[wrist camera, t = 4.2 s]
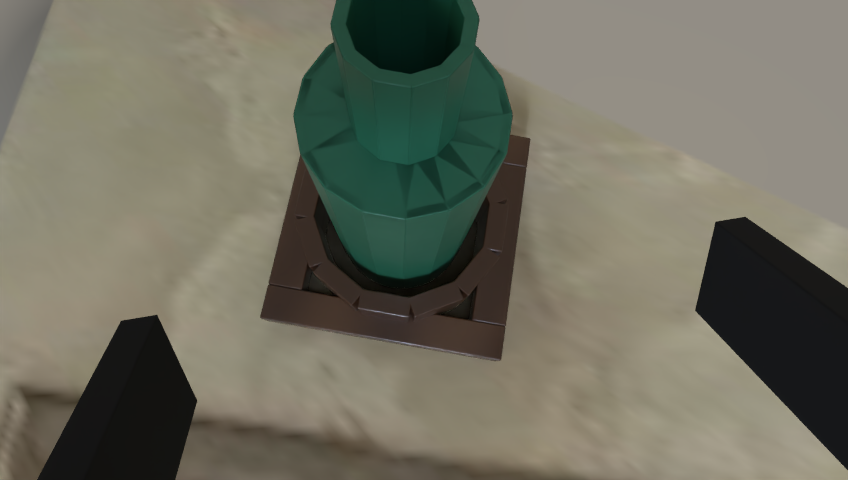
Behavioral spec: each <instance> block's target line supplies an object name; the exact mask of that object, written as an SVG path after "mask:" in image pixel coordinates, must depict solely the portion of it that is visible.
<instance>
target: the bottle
mask: <svg viewBox="0 0 848 480" xmlns="http://www.w3.org/2000/svg"><path fill="white" fill-rule="evenodd" d="M478 25H479V15H478V13H477V11H476V8H475V6H474V4H473V2H472V0H336V4H335V8H334V12H333V16H332V20H331V31H332V36H333V41H334V42H333V43H332V44H330V45H328V46H327V47H326V48H325V50H324V51H323V52H322V53H321V55H320V56H319V57H318V59H317V60H316V61H315V62H314V64H313V65H312V66H311V67H310V69H309V70H308V71H307V73H306V74H305V75H304V77H303V79H302V83H301V87H300V91H299V95H298V98H297V102H296V106H295V110H294V116H293V117H294V122H295V128H296V133H297V139H298V144H299V150H300V154H301V156H302V159H303V161H304V163H305V165H306V167H307V169H308V172H309V174H310V176H311V178H312V180H313V182H314V184H315V187H316V189H317V191H318V193H319V195H320V197H321V200H322V202H323V204H324V206H325V208H326V210H327V213H328V215H329V217H330V219H331V221H332V223H333V225H334V228H335V230H336V232H337V234H338V236H339V238H340V241H341V243H342V245H343V247H344V249H345V251H346V253H347V254H348V256H349V257H350V259H351V261H352V262H353V264H354V265H355V266H356V268H357V269H358V270H359V271H360V272H361V273H362V274H363V275H365V276H366V277H367V278H369V279H370V280H372V281H374V282H376V283H378V284H381V285H383V286H387V287H391V288H413V287H417V286H421V285H424V284H426V283H428V282H430V281H432V280H434V279H435V278H437V277H438V276H439V275H441V274H442V273H443V272H444V271H445V270H447V268H448V267H449V265H450V264H451V262H452V261H453V259H454V257H455V256H456V254H457V253H458V251H459V249H460V247H461V245H462V243H463V241H464V239H465V237H466V235H467V233H468V231H469V229H470V227H471V225H472V223H473V221H474V219H475V217H476V215H477V213H478V211H479V209H480V207H481V205H482V203H483V201H484V199H485V197H486V195H487V193H488V191H489V189H490V187H491V185H492V183H493V181H494V179H495V177H496V175H497V173H498V171H499V169H500V167H501V165H502V163H503V161H504V159H505V157H506V155H507V152H508V145H509V138H510V131H511V124H512V117H513V115H512V110H511V107H510V103H509V100H508V96H507V93H506V89H505V86H504V82H503V79H502V77H501V75H500V74H499V73H498V72H497V70H496V69H495V68H494V67H493V65H492V64H491V63H490V62H489V60H488V59H487V58H486V57H485V55H484V54H483V53H482V52H481V50H480V49H479V48H478V47H477V46H476V45H475V42H476V37H477V30H478Z"/></svg>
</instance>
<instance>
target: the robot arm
mask: <svg viewBox="0 0 848 480" xmlns="http://www.w3.org/2000/svg"><path fill="white" fill-rule="evenodd" d="M695 311H696V312H697V313H698V314H699V315H700V316H701V317H702V318H703V319H704V320H705V321H706V322H707V323H708V324H709V326H710V327H711V328H712V329H713V330H714V331H715V332H716V333H717V334H718V335H719V336H720V337H721V338H722V339H723V340H724V341H725V342H726V343H727V344H728V345H729V346H730V347H731V349H732V350H733V351H734V352H735V353H736V354H737V355H738V356H739V357H740V358H741V359H742V360H743V361H744V362H745V363H746V364H747V365H748V366H749V367H750V368H751V369H752V370H753V372H754V373H755V374H756V375H757V376H758V377H759V378H760V379H761V380H762V381H763V382H764V383H765V384H766V385H767V386H768V387H769V388H770V389H771V390H772V391H773V392H774V394H775V395H776V396H777V397H778V398H779V399H780V400H781V401H782V402H783V403H784V404H785V405H786V406H787V407H788V408H789V409H790V410H791V411H792V412H793V413H794V414H795V415H796V417H797V418H798V419H799V420H800V421H801V422H802V423H803V424H804V425H805V426H806V427H807V428H808V429H809V430H810V431H811V432H812V433H813V434H814V435H815V436H816V437H817V438H818V440H819V441H820V442H821V443H822V444H823V445H824V446H825V447H826V448H827V449H828V450H829V451H830V452H831V453H832V454H833V455H834V456H835V457H836V458H837V459H838V460H839V462H840V463H841V464H842V465H843V466H844V467H845V468H846V469H847V470H848V288H847V287H845V286H844V285H843V284H841V283H840V282H838V281H837V280H835V279H834V278H833V277H831V276H830V275H828V274H827V273H825V272H824V271H822V270H821V269H820V268H818V267H817V266H815V265H814V264H812V263H811V262H810V261H808V260H807V259H805V258H804V257H802V256H801V255H799V254H798V253H797V252H795V251H794V250H792V249H791V248H789V247H788V246H786V245H785V244H784V243H782V242H781V241H779V240H778V239H776V238H775V237H774V236H772V235H771V234H769V233H768V232H766V231H765V230H763V229H762V228H761V227H759V226H758V225H756V224H755V223H753V222H752V221H751V220H749V219H748V218H746V217H742V218H736V219H730V220H724V221H718V222H716V223H715V227H714V231H713V236H712V240H711V244H710V249H709V253H708V257H707V262H706V266H705V270H704V275H703V279H702V283H701V288H700V292H699V296H698V301H697V305H696V309H695ZM196 403H197V399H196V397H195V395H194V393H193V391H192V389H191V387H190V384H189V382H188V380H187V378H186V376H185V374H184V372H183V369H182V367H181V365H180V363H179V361H178V359H177V357H176V354H175V352H174V350H173V348H172V346H171V344H170V341H169V339H168V337H167V335H166V333H165V331H164V329H163V326H162V324H161V322H160V320H159V318H158V316H157V315H153V316H147V317H141V318H135V319H129V320H123V321H121V322H120V324H119V326H118V328H117V330H116V332H115V334H114V335H113V337H112V339H111V341H110V343H109V345H108V347H107V349H106V351H105V352H104V354H103V356H102V358H101V360H100V362H99V364H98V366H97V368H96V369H95V371H94V373H93V375H92V377H91V379H90V381H89V383H88V385H87V387H86V388H85V390H84V392H83V394H82V396H81V398H80V400H79V402H78V404H77V405H76V407H75V409H74V411H73V413H72V415H71V417H70V419H69V421H68V422H67V424H66V426H65V428H64V430H63V432H62V434H61V436H60V438H59V439H58V441H57V443H56V445H55V447H54V449H53V451H52V453H51V455H50V456H49V458H48V460H47V462H46V464H45V466H44V468H43V470H42V472H41V473H40V475H39V477H38V479H37V480H175V478H176V475H177V471H178V468H179V464H180V460H181V457H182V453H183V450H184V446H185V443H186V439H187V435H188V432H189V428H190V425H191V421H192V417H193V414H194V410H195V407H196Z"/></svg>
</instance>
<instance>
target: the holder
mask: <svg viewBox="0 0 848 480" xmlns="http://www.w3.org/2000/svg"><path fill="white" fill-rule="evenodd" d="M529 145H530V138H524V137H519V136H513V135H510V138H509V145H508V152H507V155H506V157H505V159H504V161H503V163H502V165H501V167H500V169H499V171H498V173H497V175H496V177H495V179H494V181H493V183H492V185H491V187H490V189H489V191H488V193H487V195H486V197H485V199H484V201H483V203H482V205H481V207H480V209H479V211H478V213H477V215H476V217H475V219H476V221H477V224H478V226H477V233H476V240H475V246H474V253H473V259H472V260H471V261H470V262H469V263H468V265H467V266H466V267H465V268H464V269H463V271H462V272H461V273H460V274H459V275H458V277H457V278H456V279H455V280H454V281H453V282H450V283H447V284H444V285H441V286H439V287H436V288H433V289H430V290H428V291H425V292H422V293H419V294H417V295H414V296H411V297H408V296H402V295H397V294H391V293H385V292H380V291H374V290H368V289H364V288H362V287H361V286H360V285H359V284H358V283H356V282H355V281H354V280H353V279H352V278H351V277H349V276H348V275H347V274H346V273H345V272H344V271H342V270H341V269H340V268H339V267H338V266H336V265H335V263H334V260H333V257H332V254H331V251H330V248H329V245H328V242H327V239H326V236H325V235H326V231H327V227H328V222H329V218H330V217H329V215H328V213H327V210H326V208H325V206H324V204H323V202H322V200H321V197H320V195H319V193H318V191H317V189H316V187H315V184H314V182H313V180H312V178H311V176H310V174H309V172H308V169H307V167H306V165H305V163H304V161H303V159H302V156H301V154H300V158H299V162H298V166H297V171H296V175H295V179H294V183H293V187H292V191H291V195H290V199H289V203H288V207H287V211H286V215H285V219H284V223H283V227H282V231H281V235H280V239H279V243H278V247H277V251H276V255H275V259H274V263H273V267H272V271H271V275H270V279H269V284H270V285H268V288H267V292H266V296H265V300H264V304H263V308H262V312H261V316H260V317H261V318H262V319H264V320H267V321H272V322H277V323H283V324H289V325H294V326H300V327H305V328H311V329H317V330H322V331H328V332H334V333H339V334H345V335H351V336H356V337H362V338H367V339H373V340H379V341H384V342H390V343H396V344H401V345H407V346H413V347H418V348H424V349H429V350H435V351H441V352H446V353H452V354H458V355H463V356H469V357H475V358H480V359H486V360H491V361H500V360H501V357H502V349H503V342H504V334H505V325H506V319H507V312H508V304H509V296H510V289H511V281H512V274H513V266H514V259H515V251H516V243H517V236H518V228H519V221H520V213H521V205H522V198H523V190H524V183H525V175H526V167H527V161H528V153H529ZM312 271H313V273H314V275H315V276H316V277H317V278H318V279H319V280H320V281H321V282H322V283H323V285H324V286H325V287H326V288H328V289H329V290H330V291H331V292H332V293H333V294H335V295H336V296H332V295H327V294H321V293H316V292H310V291H307V290H308V286H309V281H310V277H311V273H312ZM472 291H473V295H472V302H471V309H470V315H469V320H468V319H462V318H456V317H451V316H445V315H440V314H442V313H445V312H448V311H450V310H453V309H455V308H456V307H457V306H458V305H461V304H462V302H463V301H464V300H465V299H466V298H467V297H468V296H469V295H470V294H471V292H472Z"/></svg>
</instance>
